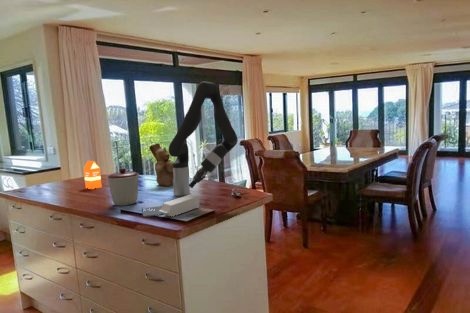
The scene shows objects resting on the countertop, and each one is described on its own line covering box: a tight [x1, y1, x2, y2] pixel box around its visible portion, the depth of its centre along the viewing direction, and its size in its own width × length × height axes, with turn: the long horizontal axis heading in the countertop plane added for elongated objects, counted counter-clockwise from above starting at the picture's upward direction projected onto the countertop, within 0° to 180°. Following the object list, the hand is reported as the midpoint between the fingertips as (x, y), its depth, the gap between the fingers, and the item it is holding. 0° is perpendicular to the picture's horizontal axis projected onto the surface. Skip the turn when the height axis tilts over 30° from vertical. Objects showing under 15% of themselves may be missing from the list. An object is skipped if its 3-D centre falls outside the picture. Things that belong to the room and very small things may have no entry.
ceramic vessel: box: [148, 142, 175, 187], centre depth 255 cm, size 16×22×30 cm
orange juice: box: [83, 160, 103, 190], centre depth 259 cm, size 8×9×20 cm
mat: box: [141, 205, 163, 218], centre depth 183 cm, size 23×16×1 cm
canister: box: [105, 167, 140, 207], centre depth 202 cm, size 18×18×21 cm
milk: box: [159, 193, 200, 218], centre depth 177 cm, size 6×6×22 cm
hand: (190, 186), depth 186 cm, fingers closed
